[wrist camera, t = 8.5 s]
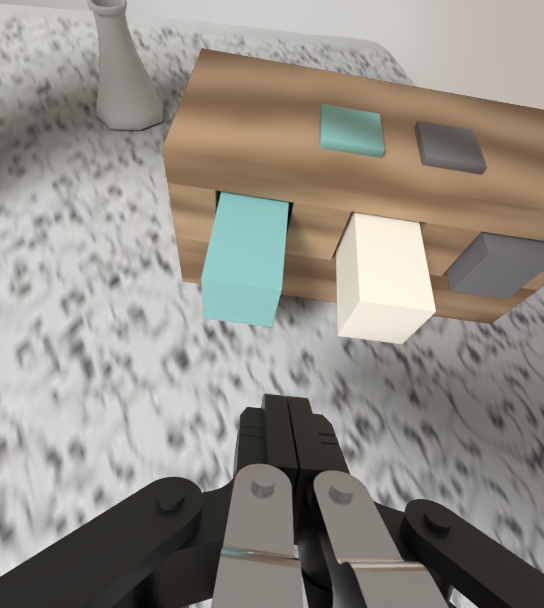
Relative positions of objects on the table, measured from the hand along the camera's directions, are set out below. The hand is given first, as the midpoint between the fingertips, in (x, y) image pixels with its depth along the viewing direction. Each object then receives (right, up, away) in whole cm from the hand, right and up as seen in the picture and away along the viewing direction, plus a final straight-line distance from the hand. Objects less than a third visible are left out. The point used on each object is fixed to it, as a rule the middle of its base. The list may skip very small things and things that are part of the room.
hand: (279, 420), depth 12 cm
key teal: (-2, +7, +12) cm, 14 cm away
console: (+6, +9, +20) cm, 23 cm away
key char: (+14, +9, +15) cm, 23 cm away
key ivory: (+6, +6, +12) cm, 15 cm away
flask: (-16, +25, +27) cm, 40 cm away
